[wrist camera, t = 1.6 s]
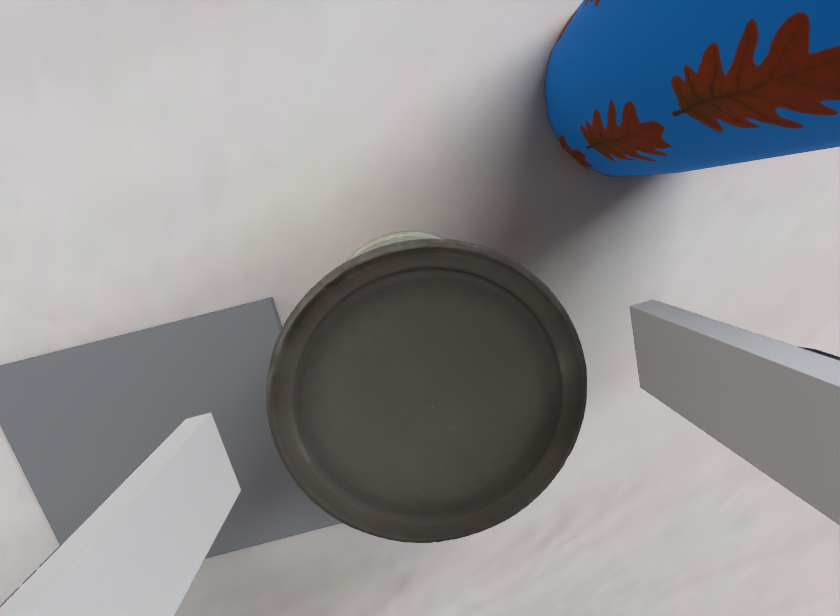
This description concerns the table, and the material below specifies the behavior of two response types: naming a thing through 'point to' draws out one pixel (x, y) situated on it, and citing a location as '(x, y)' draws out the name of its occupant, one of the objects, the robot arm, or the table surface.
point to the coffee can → (426, 389)
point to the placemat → (155, 419)
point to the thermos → (694, 82)
